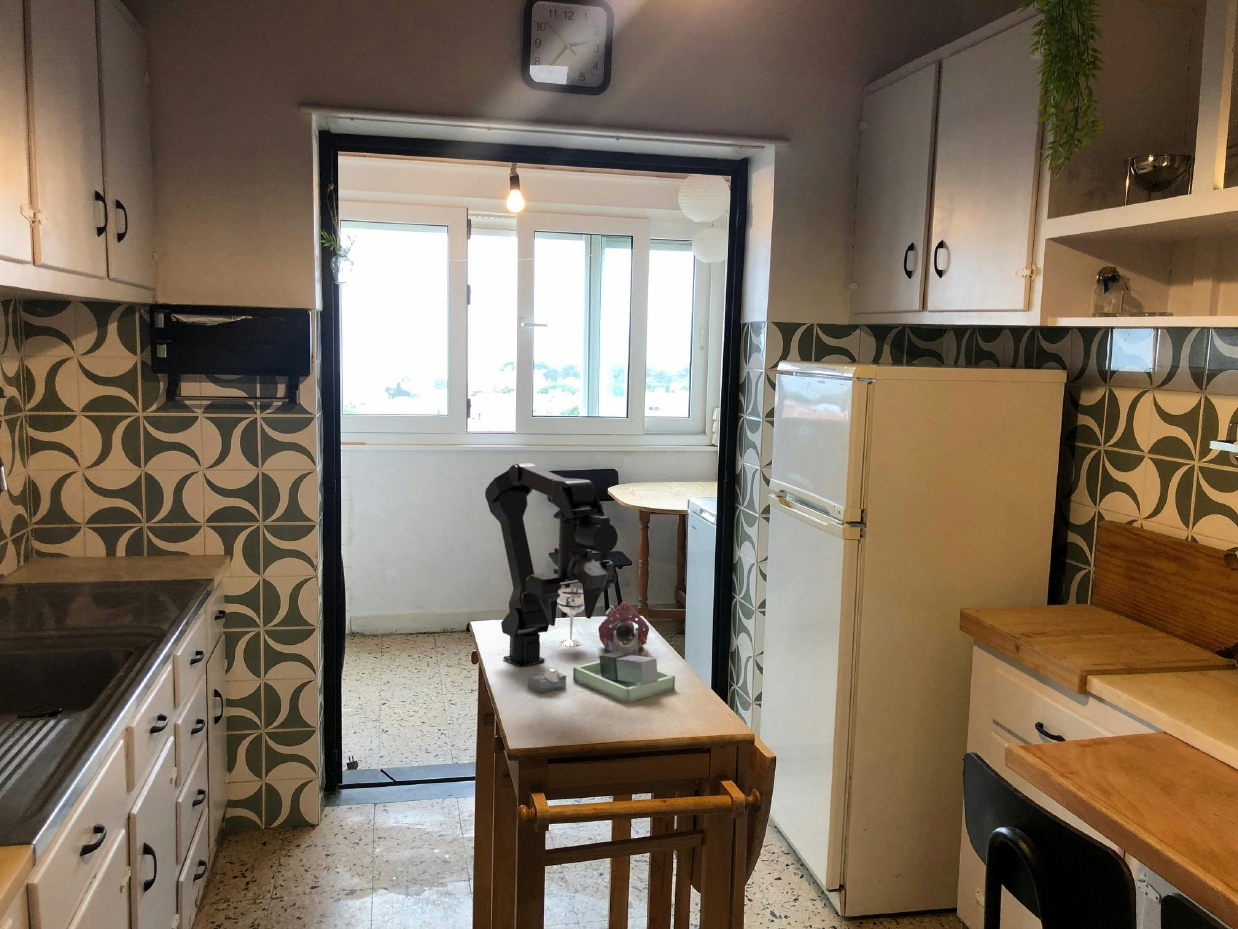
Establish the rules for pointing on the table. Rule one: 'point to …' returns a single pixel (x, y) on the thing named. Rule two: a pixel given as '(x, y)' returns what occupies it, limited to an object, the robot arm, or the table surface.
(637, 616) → the brake caliper
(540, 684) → the stud mount
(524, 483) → the robot arm
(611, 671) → the strut
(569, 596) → the wineglass
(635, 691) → the tray
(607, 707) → the table surface
